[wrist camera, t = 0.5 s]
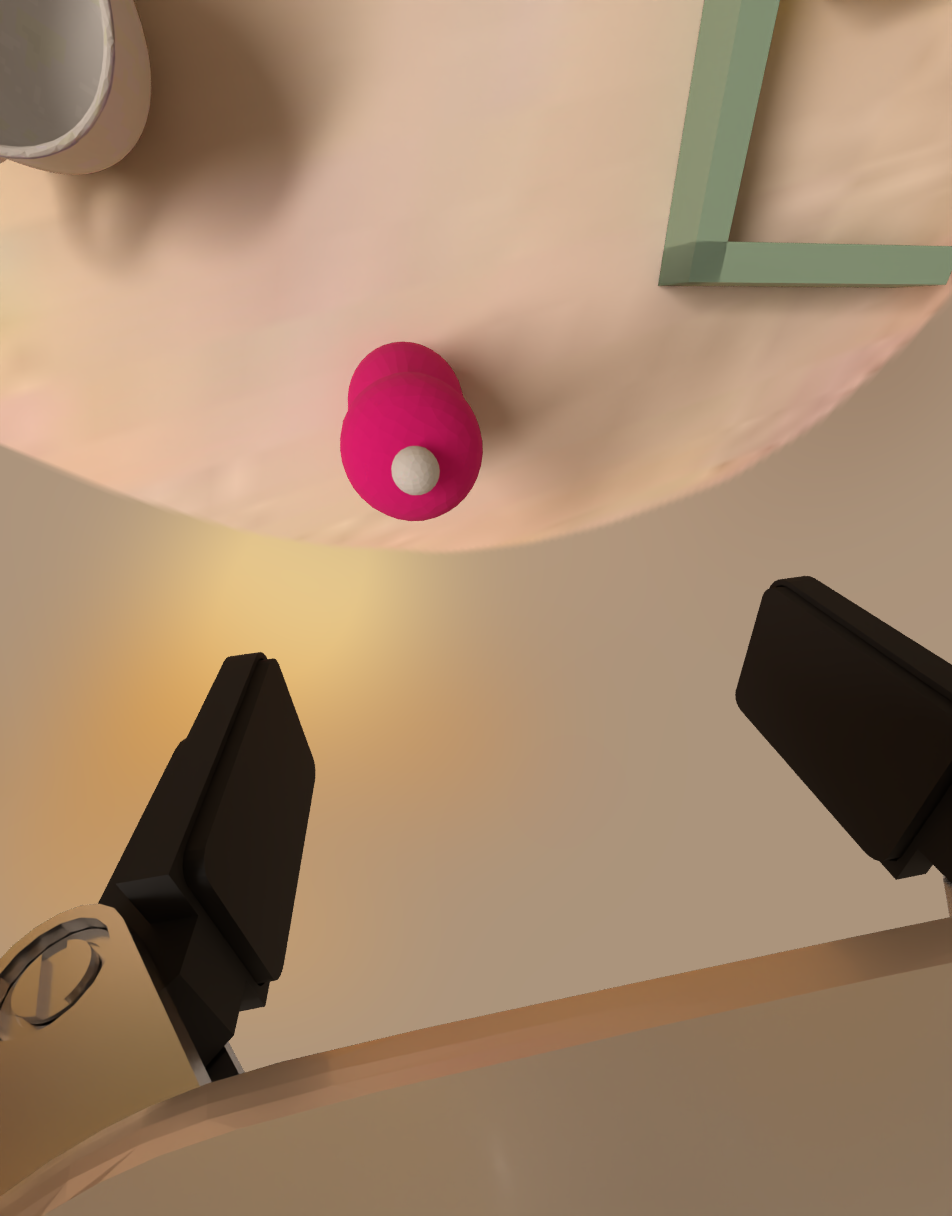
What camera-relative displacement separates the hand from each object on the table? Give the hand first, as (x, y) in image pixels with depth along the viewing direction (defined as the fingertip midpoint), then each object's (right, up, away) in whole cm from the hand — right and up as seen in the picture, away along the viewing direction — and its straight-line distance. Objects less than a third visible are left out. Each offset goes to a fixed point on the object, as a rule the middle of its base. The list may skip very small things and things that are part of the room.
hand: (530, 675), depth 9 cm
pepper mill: (-6, +16, +25) cm, 30 cm away
